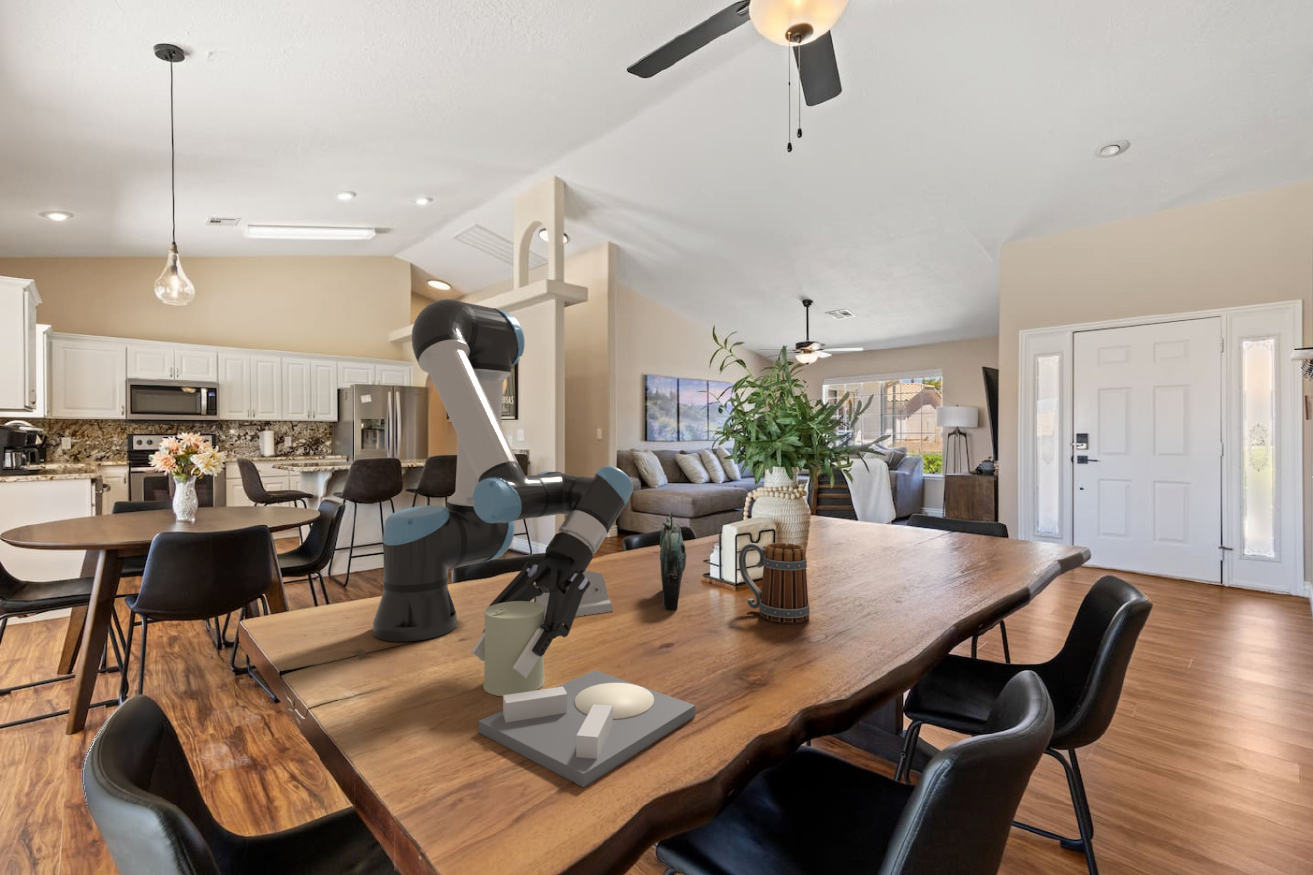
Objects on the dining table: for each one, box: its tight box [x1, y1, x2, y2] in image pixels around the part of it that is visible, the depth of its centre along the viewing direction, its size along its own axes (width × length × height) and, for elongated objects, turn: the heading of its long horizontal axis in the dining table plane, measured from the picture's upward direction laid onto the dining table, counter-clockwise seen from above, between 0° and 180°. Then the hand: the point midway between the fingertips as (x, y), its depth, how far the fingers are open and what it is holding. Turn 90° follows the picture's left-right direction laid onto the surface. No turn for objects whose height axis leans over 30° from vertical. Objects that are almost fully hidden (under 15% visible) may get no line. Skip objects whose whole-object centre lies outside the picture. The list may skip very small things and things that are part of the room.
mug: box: [738, 542, 811, 625], centre depth 130 cm, size 16×11×15 cm
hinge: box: [533, 569, 613, 620], centre depth 130 cm, size 17×5×10 cm, turn 118°
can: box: [482, 601, 546, 697], centre depth 93 cm, size 9×9×12 cm
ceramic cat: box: [659, 511, 687, 611], centre depth 141 cm, size 20×6×20 cm, turn 178°
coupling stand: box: [478, 669, 696, 788], centre depth 80 cm, size 19×22×4 cm
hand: (497, 664), depth 90 cm, fingers open, 9 cm apart
